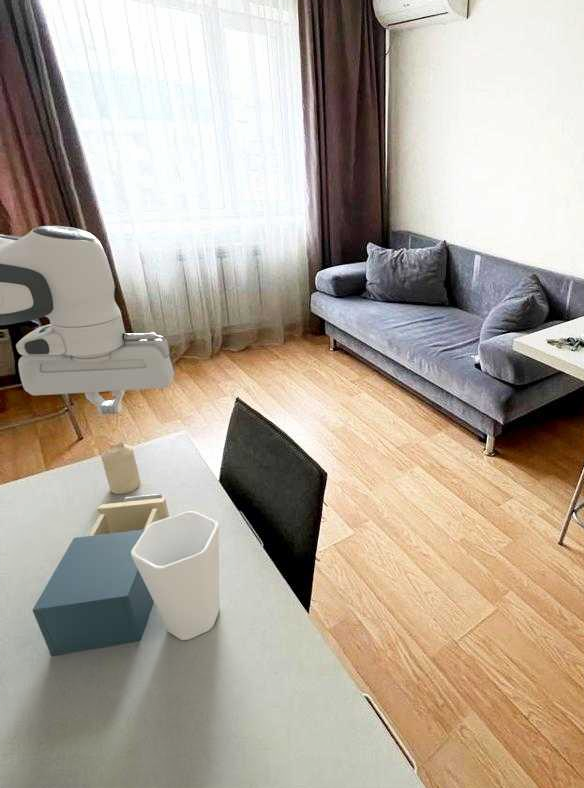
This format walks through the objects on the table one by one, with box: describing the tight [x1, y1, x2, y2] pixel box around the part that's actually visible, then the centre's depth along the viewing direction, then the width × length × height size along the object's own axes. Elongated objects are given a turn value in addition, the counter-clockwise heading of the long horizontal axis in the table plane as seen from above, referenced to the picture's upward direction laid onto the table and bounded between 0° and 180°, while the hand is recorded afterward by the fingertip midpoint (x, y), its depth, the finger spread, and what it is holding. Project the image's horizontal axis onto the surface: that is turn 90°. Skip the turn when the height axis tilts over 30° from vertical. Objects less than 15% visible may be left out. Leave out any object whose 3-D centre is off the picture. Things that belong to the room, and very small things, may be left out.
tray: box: [87, 493, 170, 536], centre depth 87 cm, size 17×10×8 cm, turn 14°
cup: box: [131, 510, 221, 641], centre depth 74 cm, size 11×10×17 cm
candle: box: [100, 442, 141, 495], centre depth 103 cm, size 6×6×10 cm
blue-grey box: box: [32, 529, 155, 657], centre depth 77 cm, size 14×12×10 cm
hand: (111, 412), depth 81 cm, fingers closed
